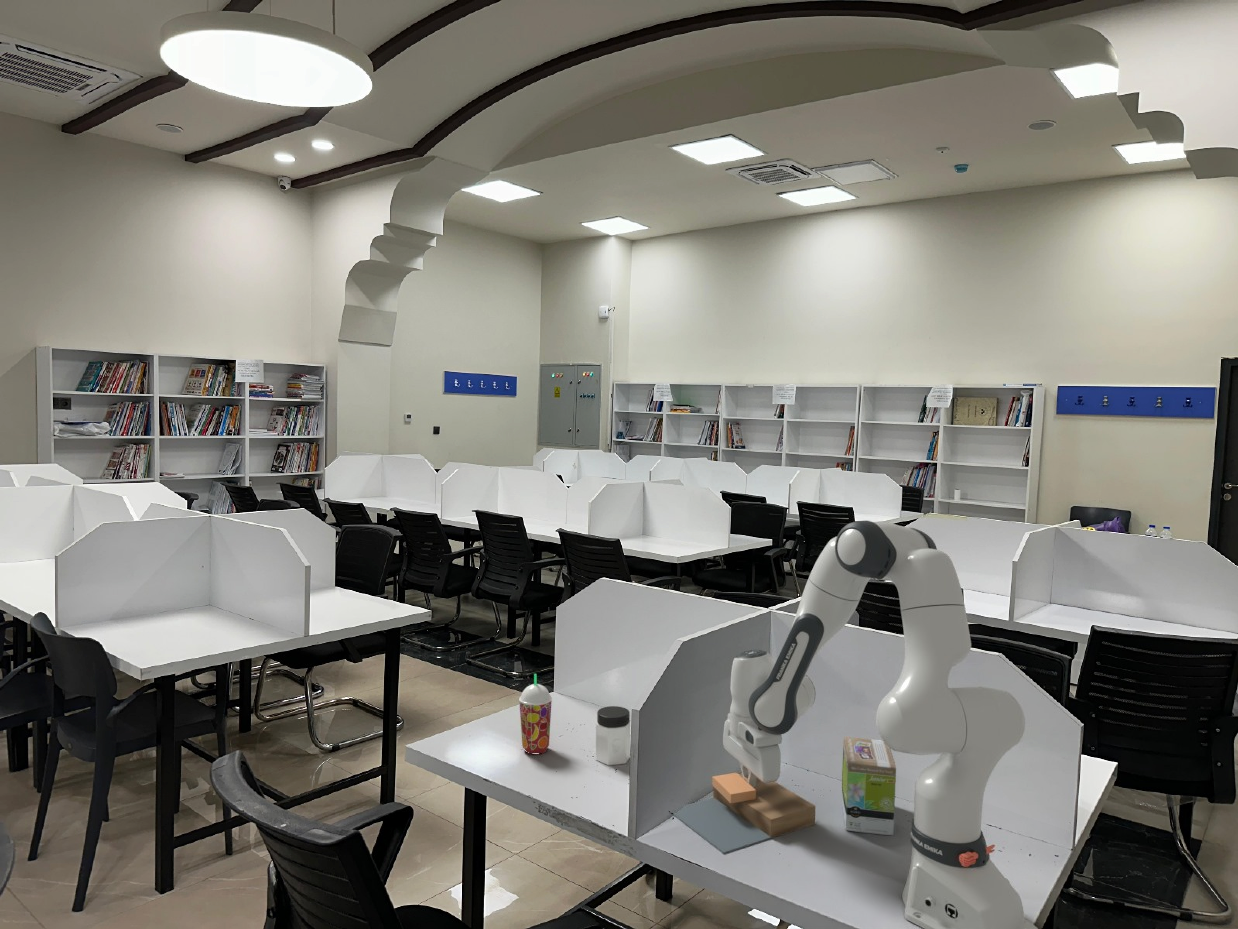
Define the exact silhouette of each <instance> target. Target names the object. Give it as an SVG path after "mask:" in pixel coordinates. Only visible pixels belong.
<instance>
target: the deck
mask: <svg viewBox="0 0 1238 929" xmlns="http://www.w3.org/2000/svg"><path fill="white" fill-rule="evenodd" d="M738 774H739V775H740V776H741V777H742V778H743V774H742V773H738ZM712 787H713V788H712V789H713V790H712V798H715V799H716V800H718V801H719V802H721V803H722V804H723V805H725V806H726V807H728V808H729V809H731V810H732V811H734V812H735V813H737V814H738V815H739V816H741V817H742V818H744V819H745V820H747V821H748V822H750V823H751V824H753V825H754V826H755V827H757V828H758V829H760V830H761V831H763V832H764V833H766V834H767V835H769V836H770V837H771V839H774V838H777V837H780V836H783V835H786V834H790V833H792V832H795V831H799V830H802V829H805V828H808V827H810V826H811V827H812V826H814V825H816V805H815V804H813V803H812V802H809V801H808V800H806V799H804V798H803V797H801V796H800V795H798V794H796V793H794V792H793V791H791V790H790V789H788V788H786V787H784V786H783V785H781V784H779V783H777V781H775V782H769V783H763V782H762V781H761V780H760V779H759V778H758V777H757V779H756V786H755V787H753V788H754V789H755V790H756V799H753V800H747V801H742V802H736V803H730V802H729V801H728V800H727V799H726V798H725V797H724V796H723V795H722V794H721V793H720V792H719V791H718V790H717V789H716V788H715V787H714V786H713V785H712Z"/></svg>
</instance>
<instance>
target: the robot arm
mask: <svg viewBox="0 0 1238 929" xmlns="http://www.w3.org/2000/svg"><path fill="white" fill-rule="evenodd" d="M871 579H875V580H882V581H889V582H892V583H893V584H894V585H895V587H896V589H897V592H898V598H899V605H900V606H899V608H900V614H901V620H902V628H903V640H904V660H903V666H902V669H901V672H900V675H899V677H898V680H897V681H896V683H895V685H894V686H893V688H891V690H890V691H889V692H888V693H887V694H886V695H885V696H884V697H883V698H882V699H881V701H880V703H879V705H878V707H877V710H876V716H875V720H876V721H875V722H876V723H875V724H876V727H877V731H878V734H879V735H880V738H881V739H882V740H883V741H884V742H885V743H886V745H887V746H888V747H889V748H890V749H891V751H894V752H897V753H904V754H908V755H915V756H916V755H917V756H930V755H939V757H938V758H937V759H936V761H934V762H933V763H932V764H930V765H929V766H927V767H926V768H925V769H924V770H922V771H921V772H920V773H919V775H918V776H917V778H916V780H915V782H914V800H913V801H914V806H913V817H912V820H911V824H910V843H911V846H912V848H911V858H910V864H909V870H908V874H907V878H906V882H905V885H904V888H903V890H902V892H901V893H902V894H901V898H902V901H903V905H904V907H905V908H904V918H905V919H906V920H907V921H909V922H911V923H913V924H914V925H917V926H918V927H921V928H922V929H1039V928H1038V927H1037V926H1036V925H1035V924H1033V923H1032V922H1031V921H1029V920H1027V918H1025V915H1024V914H1025V913H1024V911H1025V910H1024V906H1023V902H1022V898H1021V896H1020V894H1019V893H1018V892H1017V890H1016V889H1015V888H1014V887H1013V886H1012V885H1011V882H1010V880H1009V879H1008V878H1006V877H1005V876H1004V874H1002V872H1001V871H1000V870H999V868H998V867H997V866H996V865H995V863H994V862H993V861H992V859H991V858H990V857H991V856H990V854H991V853H993V852H995V849H994V848H995V846H996V845H995V844H991V845H989V846H987V842H986V838H985V836H984V832H983V831H982V817H983V816H982V814H983V804H984V795H985V792H986V791H985V790H986V787H987V785H988V784H987V783H988V781H989V779H990V777H991V775H992V773H993V772H994V770H995V768H996V766H997V765H998V763H999V762H1000V760H1001V759H1002V758H1003V757H1004V755H1005V754H1006V753H1007V752H1009V751H1010V750H1011V749H1012V748H1014V747H1015V746H1017V745H1018V744H1019V743H1020V741H1021V740H1022V739H1023V737H1024V733H1025V729H1026V717H1025V713H1024V710H1023V709H1022V706H1021V704H1020V703H1019V701H1018V700H1017V698H1016V697H1015V696H1014V695H1013V694H1011V693H1010V692H1008V691H1007V690H1003V689H996V688H990V687H986V686H985V687H984V686H965V687H949V675H950V672H951V670H952V668H954V667H955V666H957V665H958V664H960V663H961V662H963V661H964V660H965V659H966V658H967V657H968V655H969V653H970V651H971V648H972V640H971V635H970V629H969V622H968V616H967V611H966V605H965V600H964V595H963V591H962V586H961V583H960V579H959V578H958V574H957V571H956V569H955V566H954V564H953V561H952V559H951V557H950V556H949V555H948V554H946V553H945V552H944V551H941V550H939V549H938V548H937V546H936V543H935V541H934V540H933V539H932V537H930V536H929V535H928V534H927V533H925V532H923V531H922V530H919V529H917V528H914V527H907V526H904V525H903V526H902V525H898V524H895V523H893V522H887V521H872V520H857V521H853V522H849V523H848V524H845V525H844V527H842V528H841V529H840V531H838V534H837V536H835V537H832V538H831V539H830V540H829V541H827V543H826V545H825V546H824V548H823V550H822V551H821V552H820V554H819V555H818V557H817V559H816V561H815V563H814V565H813V568H812V570H811V571H810V573H809V576H808V579H807V581H806V583H805V586H804V589H803V592H802V594H801V597H800V600H799V604H798V608H797V609H796V610H797V611H796V614H795V616H794V619H793V621H792V624H791V628H790V631H789V633H788V635H787V637H786V640H785V642H784V644H783V646H782V649H780V650H781V651H780V652H779V655H778V657H777V659H775V658H773V656H772V655H771V654H770V653H769V652H768V651H766V650H762V649H751V650H745V651H743V652H741V653H739V654H737V655H736V656H735V657H734V658H733V661H732V665H731V672H730V688H729V689H730V695H731V704H730V708H729V712H728V713H727V719H726V720H725V721H724V723H723V724H724V726H723V733H722V734H723V736H722V744H723V748H724V750H726V751H727V753H729V754H730V755H731V756H732V757H734V758H735V760H737V761H738V762H739V767H740V770H741V774H743V779H744V780H745V781H746V782H747V783H749V784H750V785H751V786H752V787H755V786H756V779H757V777H758V778H759V779H760V780H761V781H762V782H763V783H769V782H778V780H779V778H780V775H781V759H782V758H781V754H782V753H781V748H780V744H782V741H783V737H782V735H784V734H787V732H789V731H790V730H791V729H792V728H793V726H795V724H796V723H797V722H798V720H799V719H800V718H802V717H803V715H805V714H806V713H807V711H809V710H810V708H811V707H812V706H813V705H814V703H815V701H816V695H817V694H816V688H815V685H814V683H813V681H812V680H811V679H810V677H809V676H808V675H807V673H808V672H809V668H810V666H811V665H812V662H813V660H814V659H815V657H816V655H817V654H818V653H819V652H820V650H821V649H822V648H823V647H824V646H825V645H826V644H827V643H828V642H829V641H830V640H831V639H832V638H833V637H835V635H837V633H839V632H840V631H841V630H842V629H843V628H844V627H845V626H846V624H847V623H848V622H849V620H850V619H851V617H852V616H853V615H854V612H855V611H856V609H857V608H858V605H859V603H860V600H861V598H862V595H863V593H864V591H865V588H866V586H867V584H868V582H869V581H871Z"/></svg>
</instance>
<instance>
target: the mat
mask: <svg viewBox="0 0 1238 929" xmlns="http://www.w3.org/2000/svg"><path fill="white" fill-rule="evenodd" d="M685 805H686V806H685ZM685 805H683V806H684V807H683V808H682V809H681V810H679V811H678V812H677V813H674V815H675V816H674V815H673V816H674V817H675V818H677V820H679V821H680V822H682V823H683V824H684V825H685V826H686V827H687V828H690V829H691V830H692V831H694V833H696V834H697V835H699V836H700V837H701V838H702V839H703V840H705V841H706V842H707V843H709V844H710V845H711V846H713V847H714V848H716V850H718V852H720V853H722V854H723V855H724V854H728V853H730V852H734V851H736V850H740V849H743V848H746V847H750V846H752V845H755V844H759V843H761V842H765V841H768V840H770V839H772V838H771V837H770V836H769V835H767V834H766V833H764V832H763V831H761V830H760V829H758V828H757V827H755V826H754V825H753V824H751V823H750V822H748V821H747V820H745V819H744V818H742V817H741V816H739V815H738V814H737V813H735V812H734V811H732V810H731V809H729V808H728V807H726V806H725V805H723V804H722V803H721V802H719V801H718V800H716V799H715V798H713V797H711V798H707V799H702V800H700V801H699V800H698V801H696V802H693V803H688V804H685Z"/></svg>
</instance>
